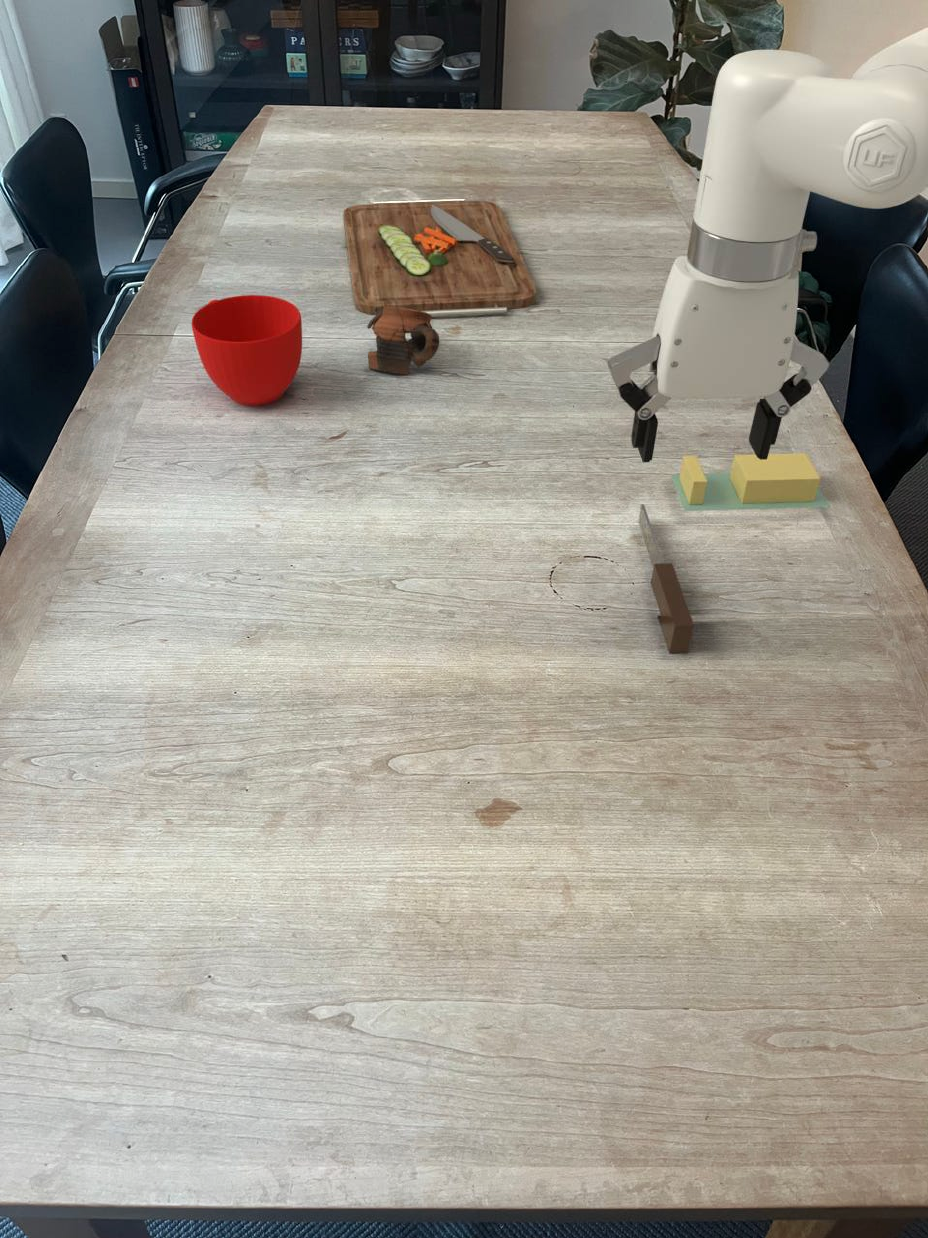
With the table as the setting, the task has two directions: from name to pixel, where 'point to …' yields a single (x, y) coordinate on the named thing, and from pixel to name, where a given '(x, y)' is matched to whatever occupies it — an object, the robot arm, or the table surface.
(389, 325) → the pottery mug
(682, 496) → the butter dish
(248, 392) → the ceramic cup
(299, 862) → the table surface
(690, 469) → the butter slice
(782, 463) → the butter block
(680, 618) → the knife
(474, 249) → the chopping board
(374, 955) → the table surface
